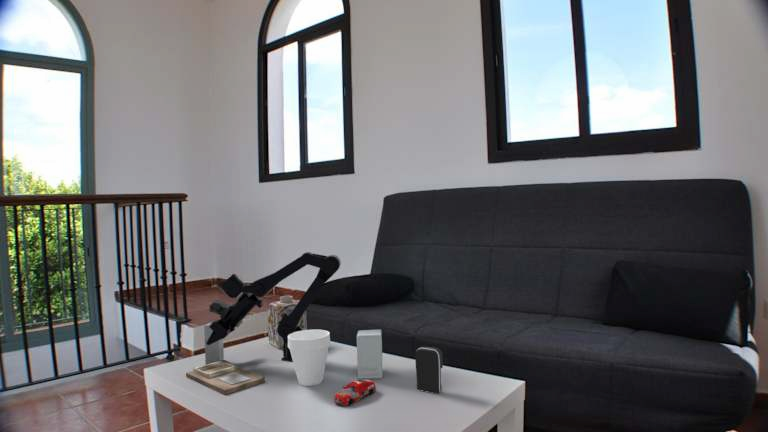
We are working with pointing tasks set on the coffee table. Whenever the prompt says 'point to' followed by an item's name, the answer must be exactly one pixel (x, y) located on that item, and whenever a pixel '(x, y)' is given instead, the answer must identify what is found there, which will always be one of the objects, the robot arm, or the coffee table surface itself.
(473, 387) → the coffee table surface
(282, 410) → the coffee table surface
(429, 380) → the battery charger
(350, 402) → the race car
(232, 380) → the wooden board
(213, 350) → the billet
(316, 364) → the cup
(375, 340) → the supplement box
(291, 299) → the decorative jar
